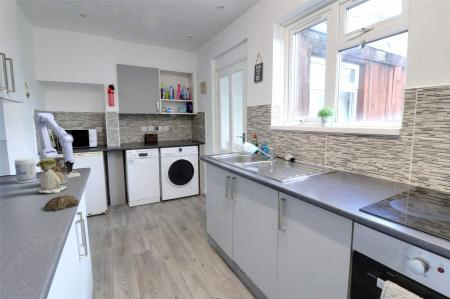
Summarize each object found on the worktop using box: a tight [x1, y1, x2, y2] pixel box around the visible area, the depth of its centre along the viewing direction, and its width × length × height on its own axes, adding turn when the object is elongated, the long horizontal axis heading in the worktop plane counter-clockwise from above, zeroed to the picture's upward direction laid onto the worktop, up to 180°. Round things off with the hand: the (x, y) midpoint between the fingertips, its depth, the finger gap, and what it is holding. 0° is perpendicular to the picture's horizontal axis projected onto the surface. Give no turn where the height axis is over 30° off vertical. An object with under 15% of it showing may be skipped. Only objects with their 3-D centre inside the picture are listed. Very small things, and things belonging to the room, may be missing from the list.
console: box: [67, 170, 81, 179], centre depth 158 cm, size 16×13×4 cm
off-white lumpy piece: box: [35, 158, 67, 194], centre depth 124 cm, size 12×13×18 cm
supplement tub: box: [14, 157, 38, 184], centre depth 145 cm, size 10×10×15 cm
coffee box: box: [51, 156, 69, 186], centre depth 138 cm, size 9×6×16 cm
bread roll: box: [44, 194, 80, 212], centre depth 104 cm, size 13×12×5 cm
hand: (70, 171), depth 160 cm, fingers closed
